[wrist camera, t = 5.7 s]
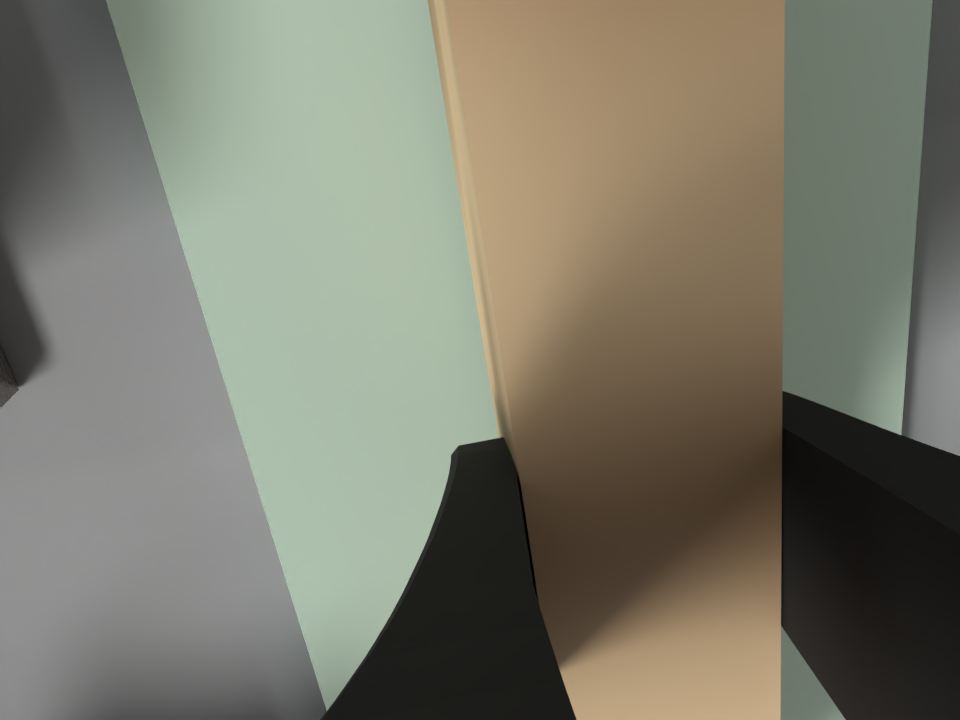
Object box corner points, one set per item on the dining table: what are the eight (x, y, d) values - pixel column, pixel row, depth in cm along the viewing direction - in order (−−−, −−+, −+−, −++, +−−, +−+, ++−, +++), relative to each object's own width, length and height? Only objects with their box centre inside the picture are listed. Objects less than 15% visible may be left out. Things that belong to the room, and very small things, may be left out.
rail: (713, 817, 15) (785, 989, 12) (561, 849, 15) (601, 1030, 12) (663, -312, 8) (800, -470, 5) (379, -269, 8) (377, -410, 5)
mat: (856, 811, 17) (872, 837, 17) (397, 909, 17) (397, 939, 16) (941, -617, 8) (980, -661, 8) (-27, -487, 8) (-58, -525, 7)
